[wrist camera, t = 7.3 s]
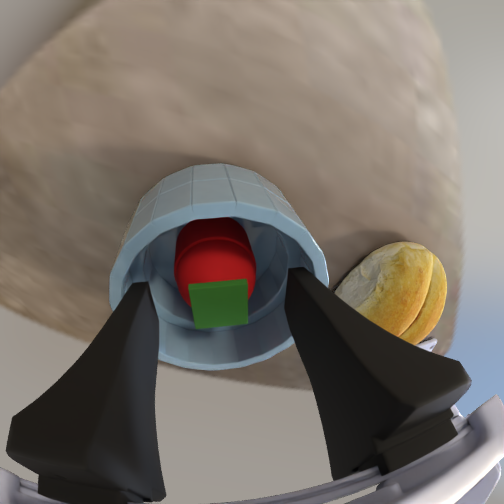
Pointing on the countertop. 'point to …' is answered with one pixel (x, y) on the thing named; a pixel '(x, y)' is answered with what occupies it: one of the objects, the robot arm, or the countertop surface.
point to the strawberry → (215, 271)
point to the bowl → (263, 246)
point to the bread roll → (398, 290)
